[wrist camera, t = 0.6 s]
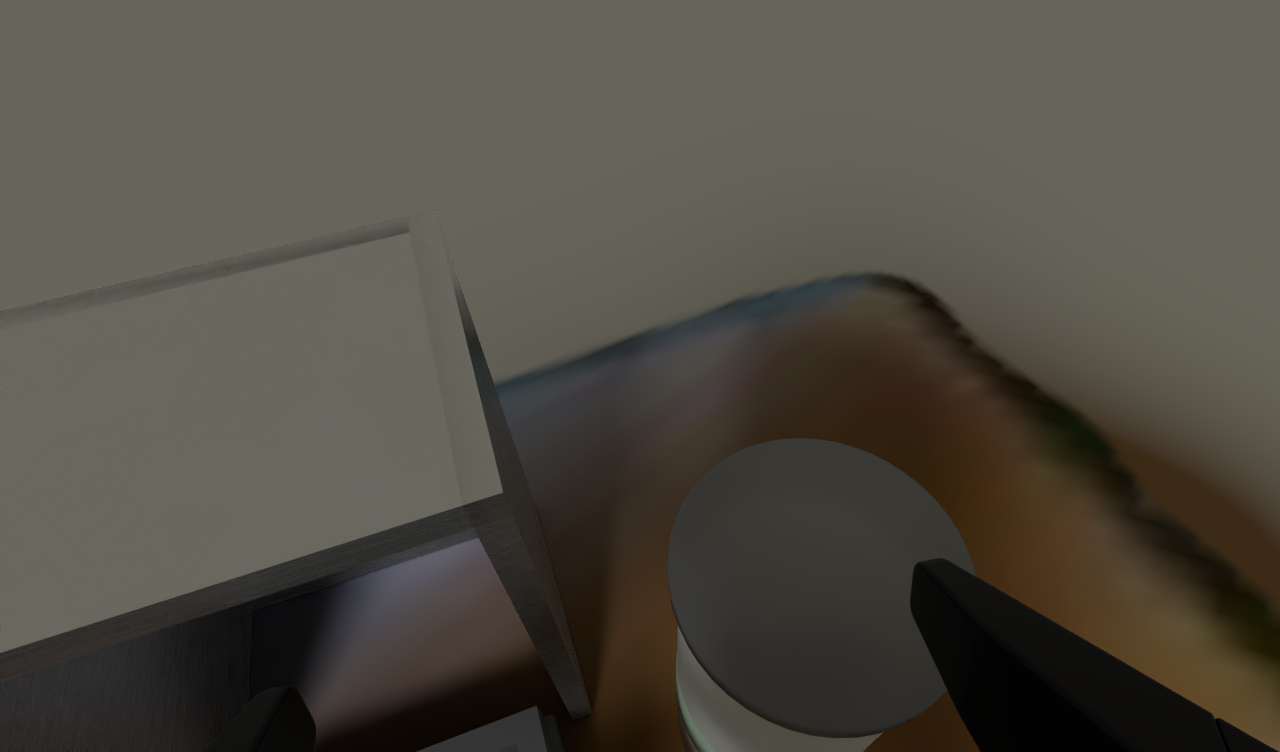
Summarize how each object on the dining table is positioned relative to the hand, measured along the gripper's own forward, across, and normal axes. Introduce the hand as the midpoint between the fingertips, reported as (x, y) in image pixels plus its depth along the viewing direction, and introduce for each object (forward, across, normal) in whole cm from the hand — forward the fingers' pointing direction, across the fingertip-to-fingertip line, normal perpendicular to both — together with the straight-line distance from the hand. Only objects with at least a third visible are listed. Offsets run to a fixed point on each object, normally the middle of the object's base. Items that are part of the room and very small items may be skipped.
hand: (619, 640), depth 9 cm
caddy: (+11, +8, +11) cm, 18 cm away
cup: (+7, -4, +13) cm, 16 cm away
